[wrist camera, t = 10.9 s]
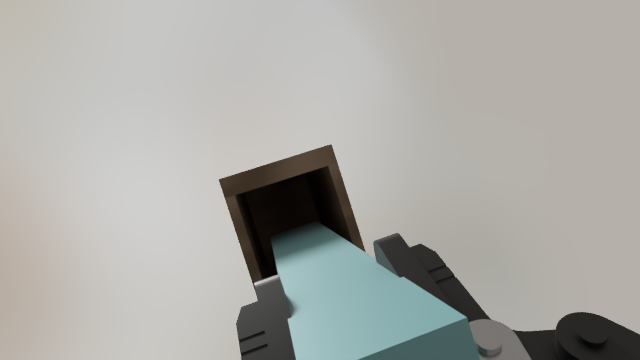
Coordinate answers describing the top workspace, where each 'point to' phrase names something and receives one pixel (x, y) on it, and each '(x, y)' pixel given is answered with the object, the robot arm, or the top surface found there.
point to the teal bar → (361, 305)
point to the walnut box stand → (287, 204)
